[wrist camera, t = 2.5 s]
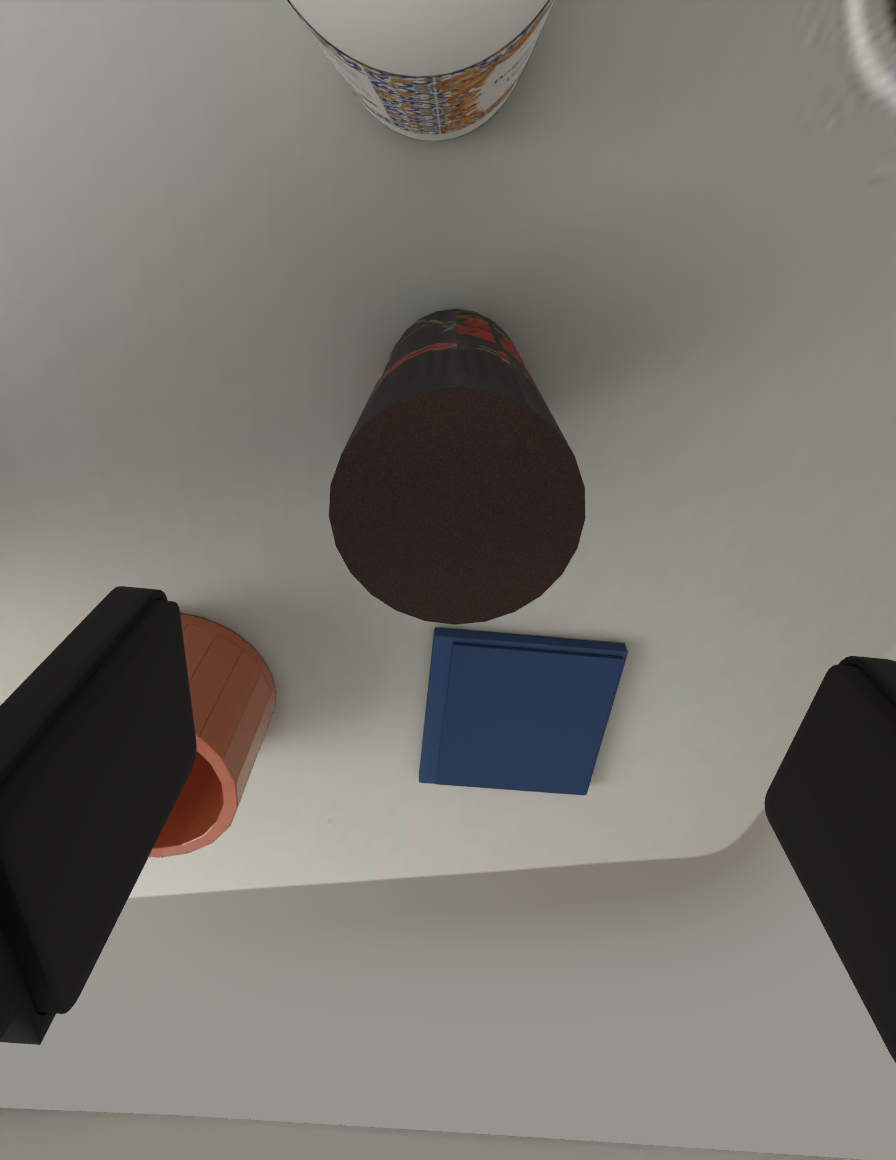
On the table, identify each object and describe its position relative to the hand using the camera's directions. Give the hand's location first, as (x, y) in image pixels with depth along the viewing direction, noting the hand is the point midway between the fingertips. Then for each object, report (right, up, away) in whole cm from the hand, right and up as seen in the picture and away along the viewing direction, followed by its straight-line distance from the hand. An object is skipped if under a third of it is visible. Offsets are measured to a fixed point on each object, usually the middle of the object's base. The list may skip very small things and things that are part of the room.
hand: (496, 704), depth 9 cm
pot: (-16, -4, +27) cm, 31 cm away
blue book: (+3, -6, +28) cm, 28 cm away
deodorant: (0, +11, +19) cm, 21 cm away
